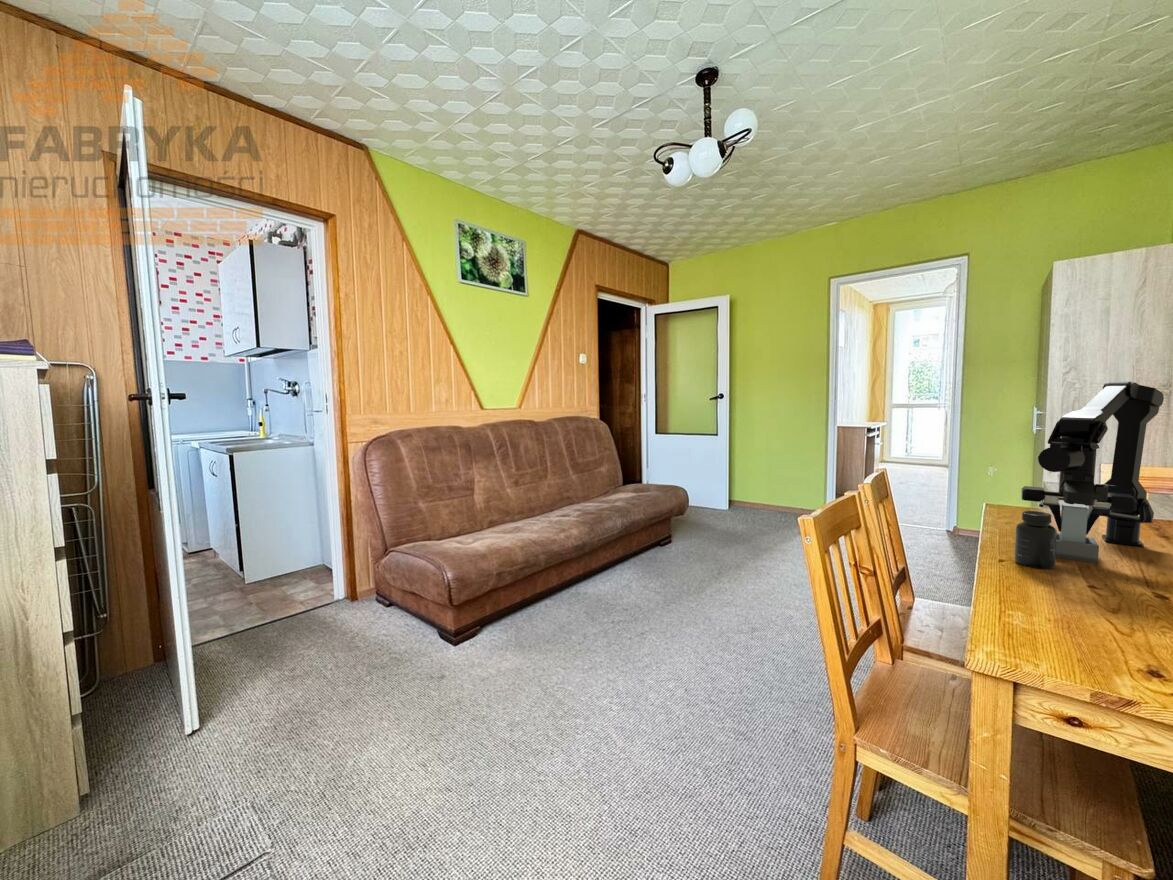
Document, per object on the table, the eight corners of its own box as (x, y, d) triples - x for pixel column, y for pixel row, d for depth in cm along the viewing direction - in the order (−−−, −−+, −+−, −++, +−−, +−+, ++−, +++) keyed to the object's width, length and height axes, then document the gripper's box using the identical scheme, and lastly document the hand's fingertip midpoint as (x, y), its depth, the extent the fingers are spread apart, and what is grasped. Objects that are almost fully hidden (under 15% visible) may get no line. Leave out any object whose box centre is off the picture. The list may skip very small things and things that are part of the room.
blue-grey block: (1059, 543, 116) (1061, 503, 115) (1082, 546, 113) (1085, 505, 112) (1060, 547, 113) (1063, 506, 112) (1084, 551, 110) (1088, 509, 109)
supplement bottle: (1037, 559, 111) (1040, 509, 110) (1063, 569, 104) (1067, 517, 103) (1006, 558, 112) (1009, 509, 111) (1030, 569, 105) (1033, 517, 104)
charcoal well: (1046, 547, 119) (1047, 532, 119) (1092, 553, 114) (1093, 537, 113) (1048, 556, 113) (1050, 539, 113) (1097, 563, 108) (1099, 546, 107)
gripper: (1025, 469, 111) (1020, 534, 113) (1145, 477, 99) (1139, 549, 101) (1023, 463, 120) (1019, 523, 121) (1134, 470, 108) (1128, 536, 109)
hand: (1072, 532), depth 113 cm, fingers closed on blue-grey block, 4 cm apart
